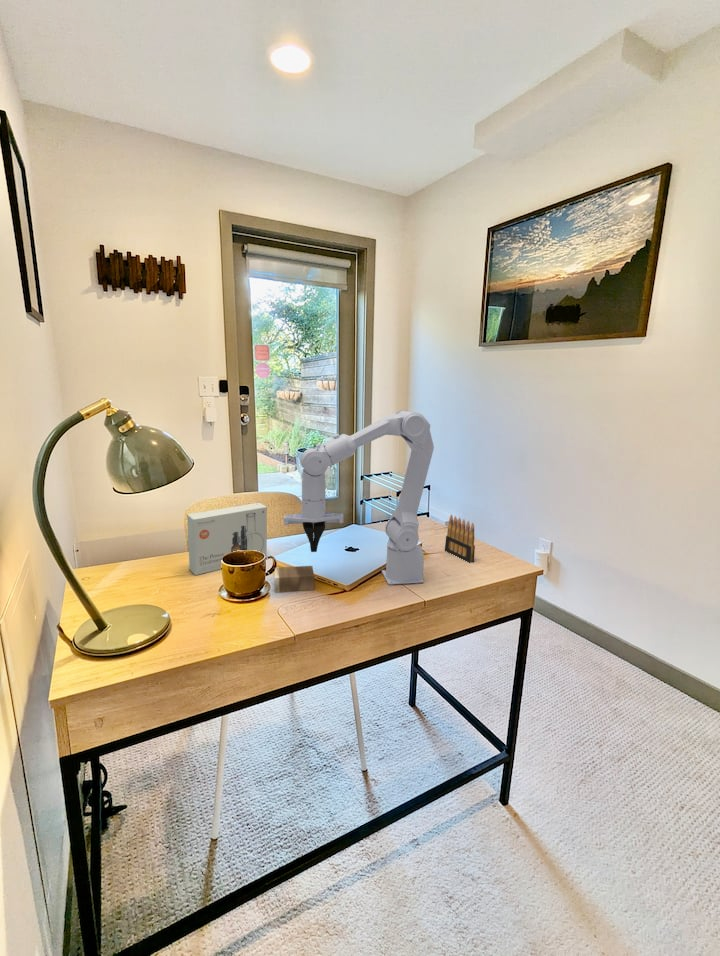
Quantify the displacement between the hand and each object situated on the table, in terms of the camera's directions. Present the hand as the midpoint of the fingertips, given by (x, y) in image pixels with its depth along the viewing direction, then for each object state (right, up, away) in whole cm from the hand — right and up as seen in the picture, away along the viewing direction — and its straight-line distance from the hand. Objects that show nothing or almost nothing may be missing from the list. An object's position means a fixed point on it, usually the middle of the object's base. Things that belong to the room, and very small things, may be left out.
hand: (313, 550), depth 111 cm
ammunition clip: (+42, -6, +23) cm, 48 cm away
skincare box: (-25, -6, +13) cm, 29 cm away
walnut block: (0, -7, +2) cm, 7 cm away
